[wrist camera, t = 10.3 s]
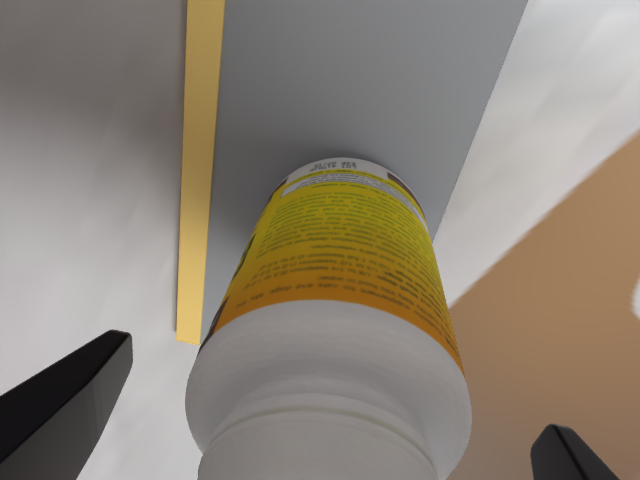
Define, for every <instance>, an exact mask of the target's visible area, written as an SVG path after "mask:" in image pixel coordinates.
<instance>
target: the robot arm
mask: <svg viewBox="0 0 640 480" xmlns="http://www.w3.org/2000/svg"><path fill="white" fill-rule="evenodd" d="M132 363H133V350H132V336H131V334H130V333H128V332H123V331H119V330H109V331H107V332H105V333H104V334H102V335H100V336H99V337H97V338H95V339H94V340H92V341H90V342H89V343H87V344H85V345H84V346H82V347H80V348H79V349H77V350H75V351H74V352H72V353H70V354H69V355H67V356H66V357H64V358H62V359H61V360H59V361H57V362H56V363H54V364H52V365H51V366H49V367H47V368H46V369H44V370H42V371H41V372H39V373H37V374H36V375H34V376H32V377H31V378H29V379H28V380H26V381H24V382H23V383H21V384H19V385H18V386H16V387H14V388H13V389H11V390H9V391H8V392H6V393H4V394H3V395H1V396H0V480H76V479H77V477H78V476H79V474H80V472H81V470H82V469H83V467H84V465H85V464H86V462H87V460H88V458H89V457H90V455H91V453H92V452H93V450H94V448H95V446H96V444H97V442H98V441H99V439H100V437H101V435H102V432H103V430H104V428H105V426H106V424H107V422H108V419H109V417H110V415H111V413H112V410H113V408H114V406H115V404H116V402H117V399H118V397H119V395H120V393H121V390H122V388H123V386H124V384H125V382H126V379H127V377H128V375H129V373H130V370H131V367H132ZM531 464H532V471H533V478H534V480H620V479H619V478H618V477H617V476H616V475H615V474H614V473H613V472H612V471H611V470H610V469H609V468H608V466H607V465H606V464H605V463H604V462H603V461H602V460H601V459H600V458H599V457H598V456H597V455H596V454H595V453H594V452H593V450H592V449H590V447H589V446H588V445H587V444H586V443H585V442H584V441H583V440H582V439H581V438H580V437H579V436H578V435H577V433H576V432H575V431H574V430H573V429H571V428H569V427H567V426H562V425H558V424H549V425H548V426H546V428H545V429H544V430H543V431H542V433H541V434H540V436H539V437H538V438H537V439H536V441H535V442H534V443H533V445H532V448H531Z"/></svg>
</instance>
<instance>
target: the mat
mask: <svg viewBox="0 0 640 480" xmlns="http://www.w3.org/2000/svg"><path fill="white" fill-rule="evenodd" d="M527 2H528V0H188V3H187V33H186V62H185V92H184V122H183V152H182V182H181V211H180V241H179V271H178V301H177V331H176V341H181V342H186V343H190V344H195V345H200V344H202V343H203V341H204V340H205V338H206V336H207V333H208V331H209V329H210V327H211V324H212V321H213V319H214V317H215V315H216V313H217V311H218V309H219V307H220V305H221V303H222V300H223V298H224V296H225V293H226V291H227V289H228V286H229V284H230V282H231V280H232V278H233V275H234V273H235V271H236V269H237V266H238V264H239V262H240V259H241V257H242V255H243V253H244V251H245V248H246V246H247V244H248V242H249V239H250V237H251V235H252V233H253V231H254V228H255V226H256V224H257V222H258V220H259V217H260V215H261V213H262V211H263V208H264V207H265V205H266V203H267V201H268V199H269V197H270V195H271V194H272V192H273V191H274V189H275V188H276V187H277V186H278V185H279V184H280V183H281V182H282V181H283V180H284V179H285V178H286V177H287V176H288V175H290V174H291V173H293V172H294V171H296V170H297V169H299V168H301V167H303V166H305V165H307V164H310V163H312V162H316V161H319V160H323V159H329V158H341V157H343V158H355V159H361V160H365V161H369V162H372V163H375V164H377V165H380V166H382V167H384V168H386V169H388V170H389V171H391V172H392V173H394V174H395V175H397V176H398V177H399V178H400V179H401V180H402V181H403V182H404V183H405V184H406V185H407V186H408V187H409V188H410V189H411V190H412V192H413V193H414V195H415V196H416V198H417V199H418V201H419V203H420V205H421V207H422V210H423V213H424V216H425V219H426V223H427V226H428V230H429V235H430V239H431V242H433V240H434V237H435V235H436V232H437V229H438V227H439V224H440V222H441V219H442V217H443V214H444V212H445V209H446V207H447V204H448V202H449V199H450V197H451V194H452V192H453V189H454V186H455V184H456V181H457V179H458V176H459V174H460V171H461V169H462V166H463V164H464V161H465V159H466V156H467V154H468V151H469V149H470V146H471V144H472V141H473V138H474V136H475V133H476V131H477V128H478V126H479V123H480V121H481V118H482V116H483V113H484V111H485V108H486V106H487V103H488V101H489V98H490V95H491V93H492V90H493V88H494V85H495V83H496V80H497V78H498V75H499V73H500V70H501V68H502V65H503V63H504V60H505V58H506V55H507V52H508V50H509V47H510V45H511V42H512V40H513V37H514V35H515V32H516V30H517V27H518V25H519V22H520V20H521V17H522V15H523V12H524V10H525V7H526V4H527Z"/></svg>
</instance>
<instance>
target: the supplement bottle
mask: <svg viewBox="0 0 640 480" xmlns="http://www.w3.org/2000/svg"><path fill="white" fill-rule="evenodd" d="M185 410H186V416H187V421H188V424H189V428H190V431H191V433H192V436H193V438H194V440H195V442H196V444H197V446H198V448H199V449H200V451H201V452H202V453H203V456H202V458H201V462H200V465H199V469H198V479H197V480H445V479H446V478H447V477H448V476H449V475H450V474H451V472H452V471H453V470H454V469H455V467H456V466H457V464H458V463H459V462H460V460H461V458H462V456H463V454H464V452H465V450H466V448H467V445H468V442H469V438H470V433H471V427H472V410H471V403H470V398H469V393H468V389H467V384H466V380H465V375H464V371H463V367H462V362H461V359H460V355H459V351H458V347H457V343H456V340H455V335H454V332H453V327H452V323H451V320H450V316H449V312H448V308H447V304H446V299H445V295H444V291H443V287H442V283H441V278H440V274H439V270H438V266H437V262H436V258H435V255H434V251H433V247H432V242H431V239H430V235H429V230H428V226H427V223H426V219H425V216H424V213H423V210H422V207H421V205H420V203H419V201H418V199H417V198H416V196H415V195H414V193H413V192H412V190H411V189H410V188H409V187H408V186H407V185H406V184H405V183H404V182H403V181H402V180H401V179H400V178H399V177H398V176H397V175H395V174H394V173H392V172H391V171H389V170H388V169H386V168H384V167H382V166H380V165H377V164H375V163H372V162H369V161H365V160H361V159H355V158H343V157H341V158H329V159H323V160H319V161H316V162H312V163H310V164H307V165H305V166H303V167H301V168H299V169H297V170H296V171H294V172H293V173H291V174H290V175H288V176H287V177H286V178H285V179H284V180H283V181H282V182H281V183H280V184H279V185H278V186H277V187H276V188H275V189H274V191H273V192H272V194H271V195H270V197H269V199H268V201H267V203H266V205H265V207H264V208H263V211H262V213H261V215H260V217H259V220H258V222H257V224H256V226H255V228H254V231H253V233H252V235H251V237H250V239H249V242H248V244H247V246H246V248H245V251H244V253H243V255H242V257H241V259H240V262H239V264H238V266H237V269H236V271H235V273H234V275H233V278H232V280H231V282H230V284H229V286H228V289H227V291H226V293H225V296H224V298H223V300H222V303H221V305H220V307H219V309H218V311H217V313H216V315H215V317H214V319H213V321H212V324H211V327H210V329H209V331H208V333H207V336H206V338H205V340H204V341H203V343H202V345H201V346H200V349H199V352H198V355H197V358H196V360H195V363H194V366H193V368H192V370H191V373H190V375H189V379H188V383H187V388H186V397H185Z"/></svg>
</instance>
